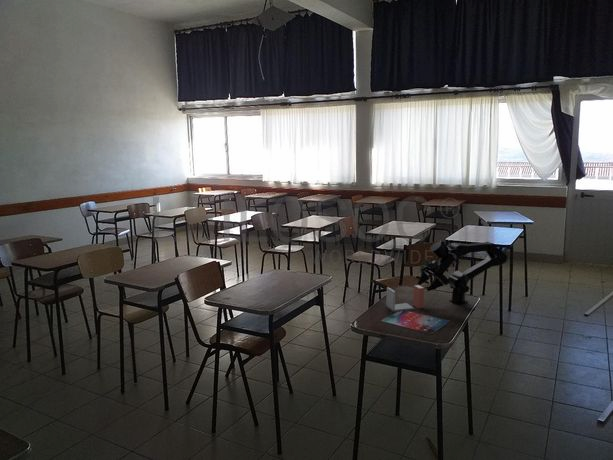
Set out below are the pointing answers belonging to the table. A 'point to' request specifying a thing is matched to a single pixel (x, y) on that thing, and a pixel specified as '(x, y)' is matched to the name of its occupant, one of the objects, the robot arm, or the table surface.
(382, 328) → the table surface
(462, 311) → the table surface
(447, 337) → the table surface
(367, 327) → the table surface
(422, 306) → the book
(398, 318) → the tablet
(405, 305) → the bookstand
